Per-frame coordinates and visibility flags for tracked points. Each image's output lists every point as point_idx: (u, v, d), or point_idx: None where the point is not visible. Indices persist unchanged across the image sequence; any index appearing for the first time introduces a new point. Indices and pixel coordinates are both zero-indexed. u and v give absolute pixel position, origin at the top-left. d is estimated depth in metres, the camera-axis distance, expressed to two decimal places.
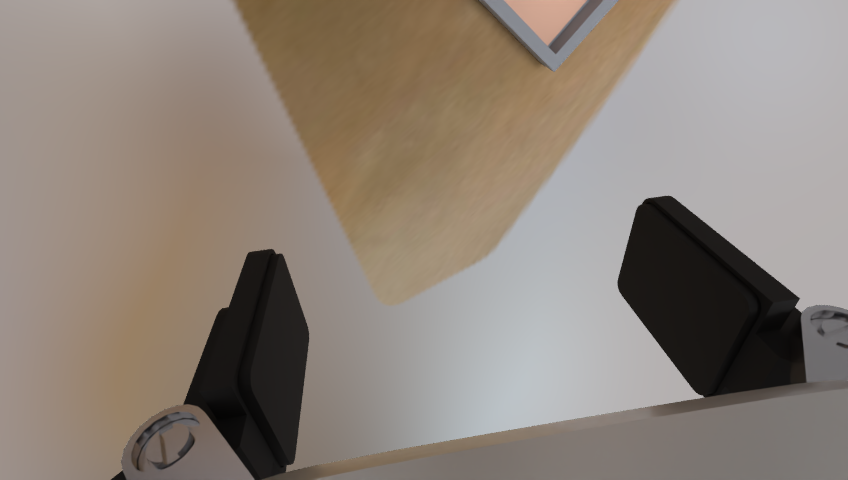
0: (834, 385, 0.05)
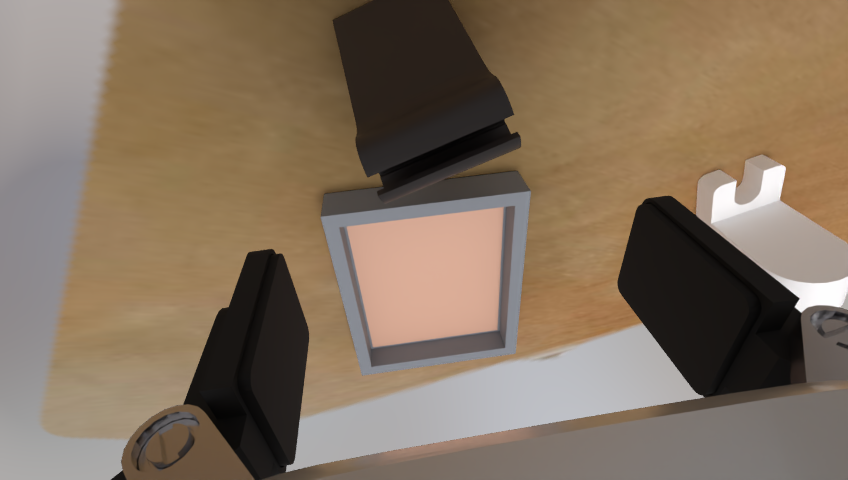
0: (834, 385, 0.05)
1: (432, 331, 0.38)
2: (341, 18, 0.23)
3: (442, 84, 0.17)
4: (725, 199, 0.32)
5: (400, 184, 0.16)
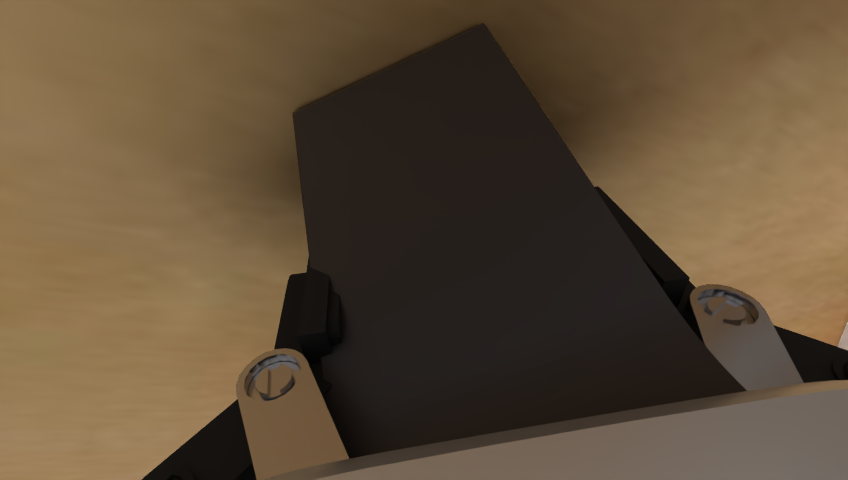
0: (834, 385, 0.05)
1: None
2: (308, 110, 0.12)
3: (556, 352, 0.07)
4: None
5: None
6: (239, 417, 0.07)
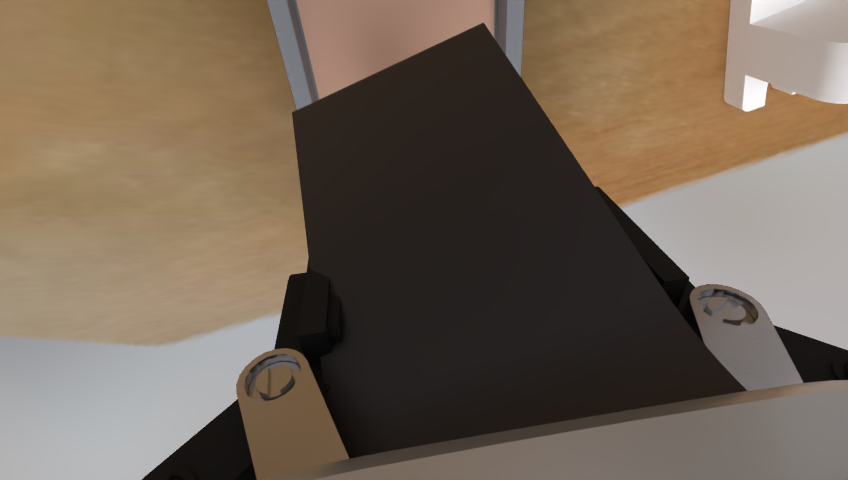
0: (834, 385, 0.05)
1: None
2: (308, 110, 0.12)
3: (557, 352, 0.07)
4: None
5: None
6: (239, 417, 0.07)
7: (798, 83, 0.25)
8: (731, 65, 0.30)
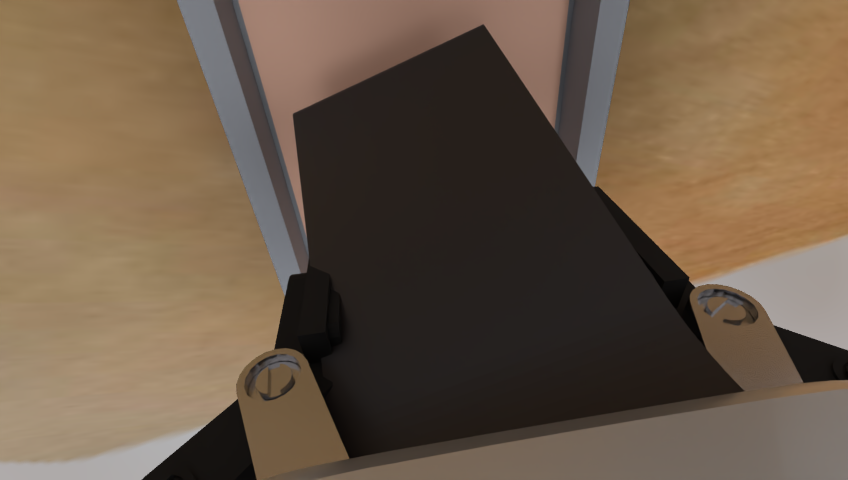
0: (834, 385, 0.05)
1: None
2: (308, 111, 0.12)
3: (556, 354, 0.07)
4: None
5: None
6: (239, 417, 0.07)
7: None
8: None
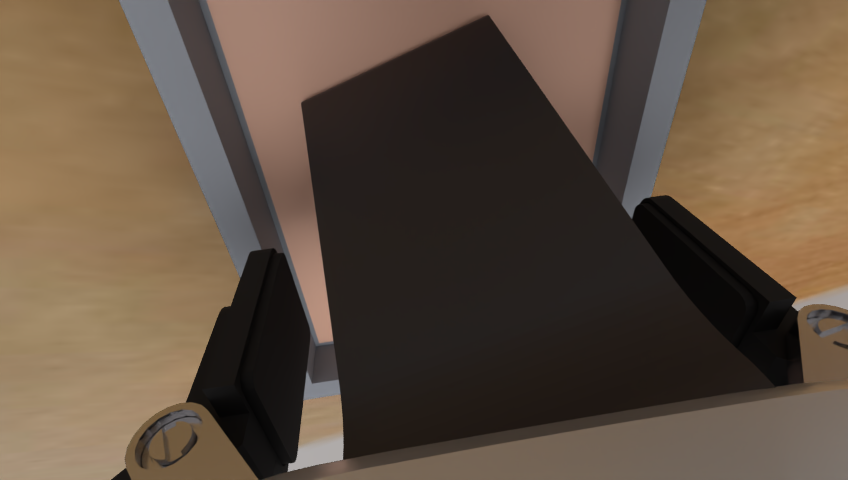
0: (834, 385, 0.05)
1: None
2: (316, 100, 0.12)
3: (561, 324, 0.07)
4: None
5: None
6: None
7: None
8: None
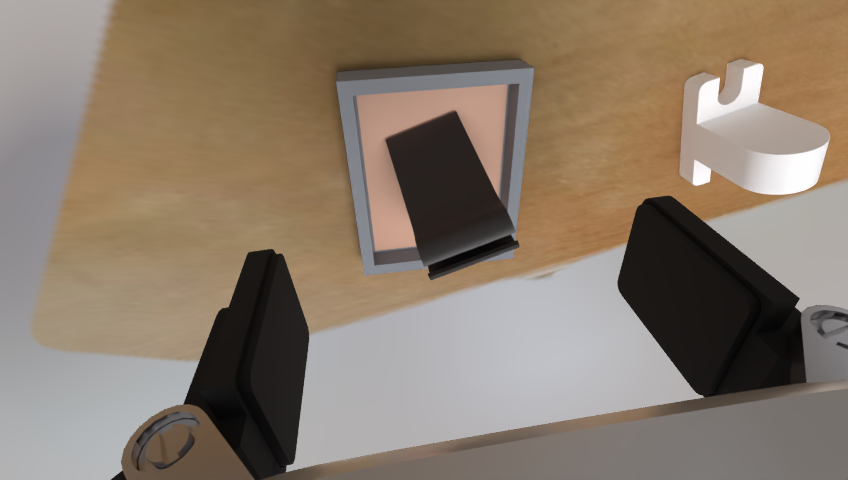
0: (835, 385, 0.05)
1: None
2: (392, 139, 0.33)
3: (469, 204, 0.27)
4: (709, 97, 0.34)
5: (443, 270, 0.26)
6: None
7: (730, 173, 0.34)
8: (684, 150, 0.38)
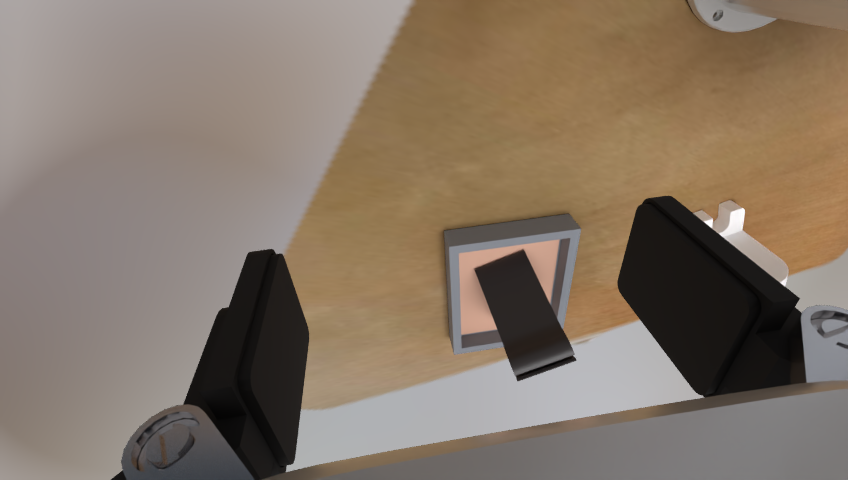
0: (834, 385, 0.05)
1: None
2: (479, 270, 0.47)
3: (540, 329, 0.41)
4: None
5: (527, 376, 0.40)
6: None
7: None
8: None
